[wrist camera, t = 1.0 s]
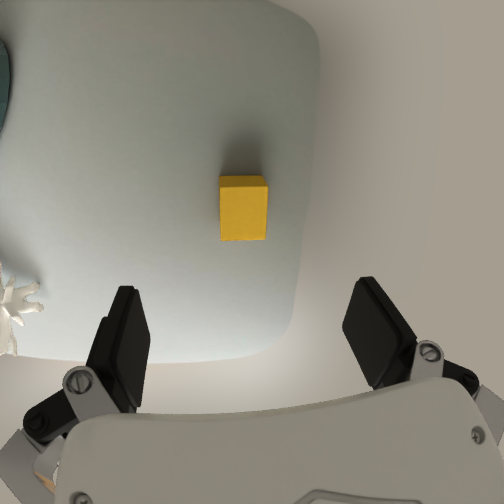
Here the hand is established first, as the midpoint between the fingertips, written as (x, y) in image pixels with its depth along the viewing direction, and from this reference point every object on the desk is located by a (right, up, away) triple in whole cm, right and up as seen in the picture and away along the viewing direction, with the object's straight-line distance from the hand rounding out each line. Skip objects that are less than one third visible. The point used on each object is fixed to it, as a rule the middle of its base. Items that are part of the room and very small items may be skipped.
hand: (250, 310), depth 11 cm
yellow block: (-1, +7, +15) cm, 17 cm away
